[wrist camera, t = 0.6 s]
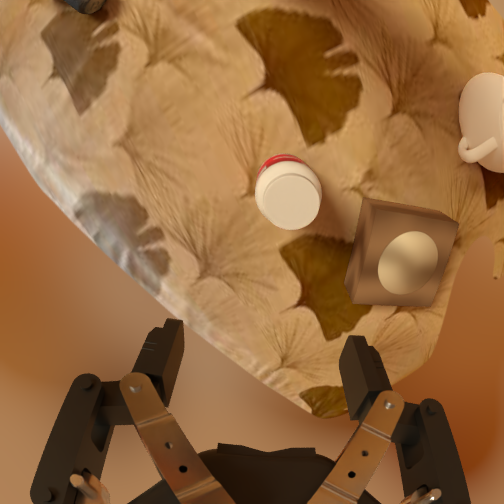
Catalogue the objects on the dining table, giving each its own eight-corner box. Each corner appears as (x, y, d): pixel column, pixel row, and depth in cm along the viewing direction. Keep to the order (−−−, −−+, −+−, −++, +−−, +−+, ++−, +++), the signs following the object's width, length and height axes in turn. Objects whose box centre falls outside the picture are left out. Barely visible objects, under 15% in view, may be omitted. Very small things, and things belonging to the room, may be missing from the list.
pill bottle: (319, 167, 33) (342, 188, 23) (295, 212, 36) (307, 250, 26) (271, 143, 32) (274, 153, 22) (248, 190, 35) (241, 220, 25)
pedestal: (363, 197, 35) (377, 209, 30) (439, 211, 35) (459, 224, 30) (344, 283, 40) (353, 304, 35) (416, 287, 40) (431, 307, 35)
